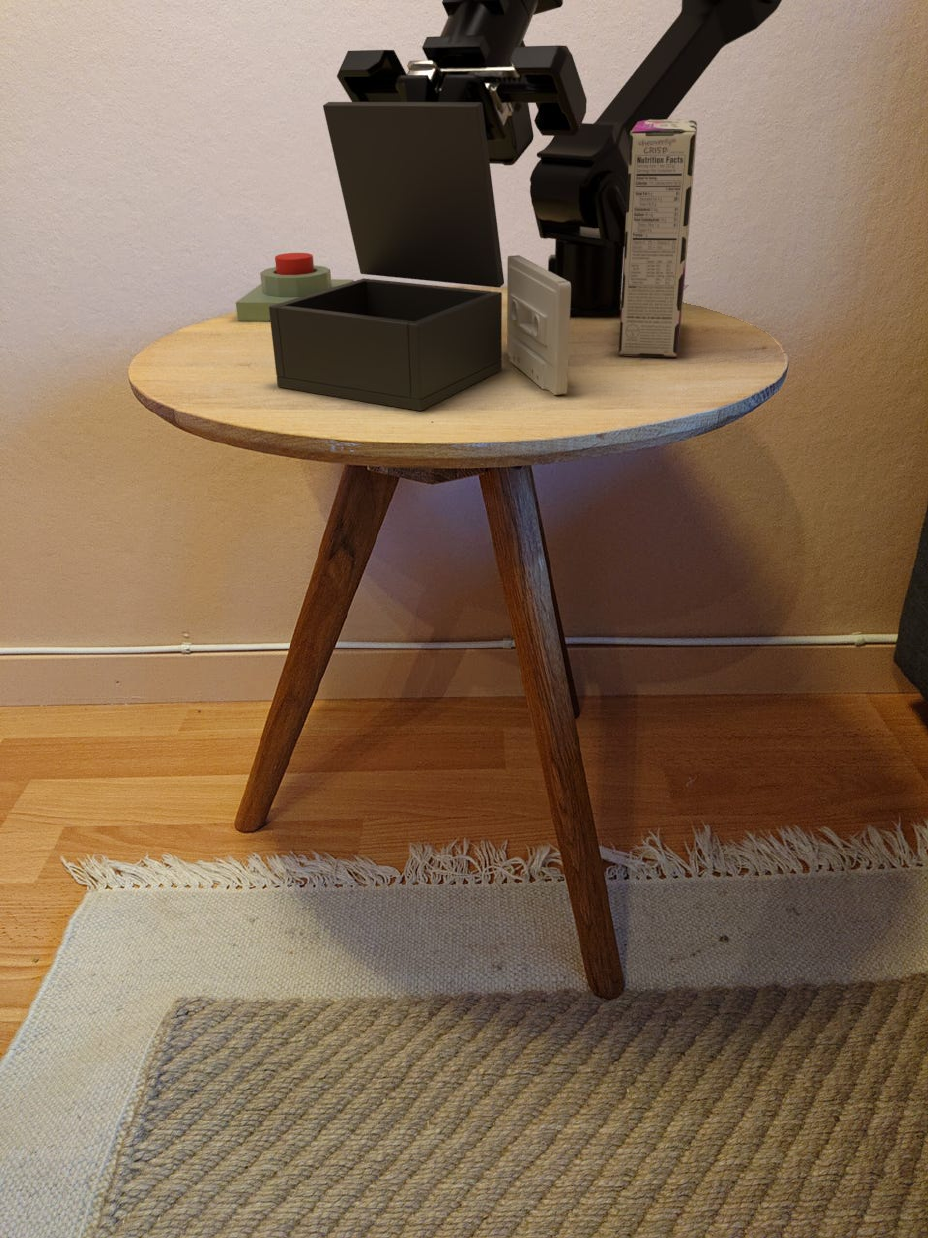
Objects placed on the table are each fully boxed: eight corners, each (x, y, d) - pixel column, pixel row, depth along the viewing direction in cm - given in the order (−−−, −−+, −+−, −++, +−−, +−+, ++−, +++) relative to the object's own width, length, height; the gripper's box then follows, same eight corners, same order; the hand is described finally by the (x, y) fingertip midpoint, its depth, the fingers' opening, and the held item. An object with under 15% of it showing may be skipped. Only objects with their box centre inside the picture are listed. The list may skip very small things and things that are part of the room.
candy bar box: (622, 324, 87) (636, 118, 79) (679, 326, 86) (699, 118, 78) (614, 356, 77) (628, 126, 69) (677, 359, 76) (700, 126, 68)
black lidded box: (421, 411, 66) (417, 324, 63) (277, 386, 71) (268, 306, 68) (501, 370, 74) (502, 291, 72) (367, 350, 80) (363, 277, 77)
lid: (477, 105, 63) (482, 101, 63) (322, 104, 68) (328, 101, 69) (499, 288, 71) (504, 283, 72) (360, 274, 77) (365, 269, 77)
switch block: (269, 296, 100) (264, 260, 98) (354, 296, 99) (352, 260, 97) (237, 320, 90) (232, 281, 89) (332, 321, 90) (329, 281, 88)
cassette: (574, 394, 69) (579, 282, 65) (549, 397, 68) (552, 284, 64) (522, 353, 79) (524, 253, 75) (500, 355, 78) (500, 255, 74)
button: (282, 271, 95) (280, 252, 94) (318, 271, 95) (316, 252, 94) (272, 278, 92) (270, 258, 91) (309, 278, 91) (308, 258, 91)
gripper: (631, 96, 76) (566, 266, 73) (430, 95, 84) (364, 248, 81) (597, -32, 66) (519, 159, 63) (373, -18, 74) (295, 151, 72)
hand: (418, 186), depth 70 cm, fingers closed
